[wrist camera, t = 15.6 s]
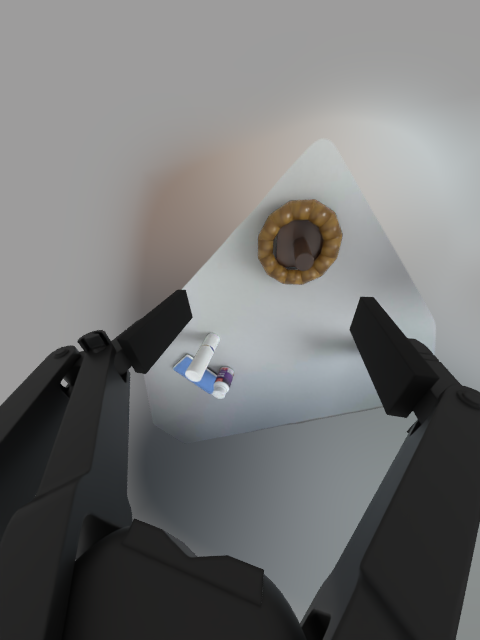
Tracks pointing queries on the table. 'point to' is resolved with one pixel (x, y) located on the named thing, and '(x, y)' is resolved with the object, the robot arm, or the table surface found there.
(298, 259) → the post
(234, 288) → the table surface
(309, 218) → the ring
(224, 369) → the pill bottle
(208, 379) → the tablet
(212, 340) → the tube
